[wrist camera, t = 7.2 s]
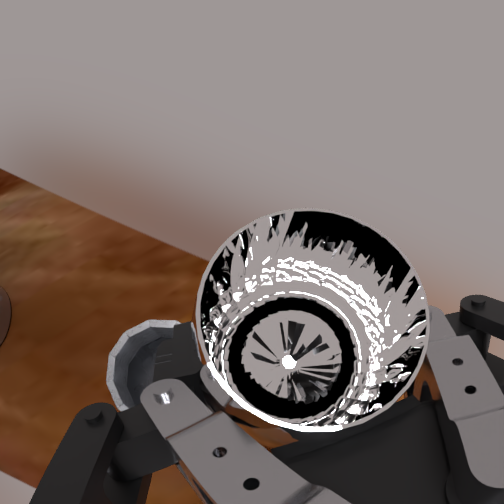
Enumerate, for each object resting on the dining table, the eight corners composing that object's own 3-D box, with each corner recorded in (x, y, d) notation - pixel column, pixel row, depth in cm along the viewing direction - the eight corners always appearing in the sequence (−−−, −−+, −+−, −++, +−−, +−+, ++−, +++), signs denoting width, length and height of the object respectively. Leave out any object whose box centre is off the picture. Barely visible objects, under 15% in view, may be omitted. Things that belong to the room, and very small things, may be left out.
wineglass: (275, 316, 18) (307, 154, 8) (348, 385, 16) (486, 301, 6) (198, 383, 16) (110, 296, 6) (272, 459, 14) (321, 524, 4)
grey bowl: (150, 443, 23) (134, 445, 19) (111, 358, 26) (93, 347, 23) (238, 401, 25) (236, 397, 21) (191, 318, 29) (183, 302, 25)
